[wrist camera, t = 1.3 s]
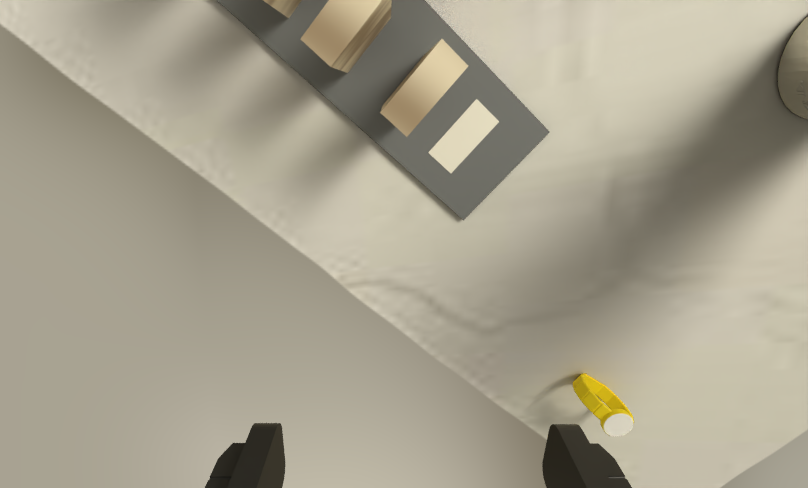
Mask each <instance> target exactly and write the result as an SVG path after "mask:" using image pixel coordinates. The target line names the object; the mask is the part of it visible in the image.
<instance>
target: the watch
mask: <svg viewBox="0 0 808 488" xmlns="http://www.w3.org/2000/svg"><path fill="white" fill-rule="evenodd" d="M573 388H574V390H575V393H576V394H577V395H578V397H579V398H580V400H581V401H582V402H583V404H584V405H585V406H586V407H587V408H588V409H589V410H590V411H591V412H593V414H594V415H595V416H596V417H597V418H599V419H600V420H601V421H600V422H601V427H602V428H603V430H604V432H605V433H606V434H607V435H610V436H613V437H618V436H623V435H625V434H627V433H628V432H629V431H630V430H631V429H632V427H633V423H634V419H633V416H632V414H631V412H630V411H629V410H628V408H627V407H626V406H625V404H624V403H623V402H622V401H621V400H620V399H619V398H618V397H617V396H616V395H615V394H614V393H613V392H612V391H611V390H610V389H609V388H607V387H606V386H605V385H603V384H602V383H600V382H598V381H597V380H595V379H593V378H592V377H590V376H588V375H586V373H583V374H581V375H580V376H579V377H578V378H577V379H576V380H575V381H574V382H573ZM596 395H597V396H598V397H599V398H600V399H601V400H602V401H603V402H604V403H606V405H607V406H608V407H607V406H606V405H605V404H604V403H602V401H601V400H600V399H599V398H598V397H597V396H596Z"/></svg>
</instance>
